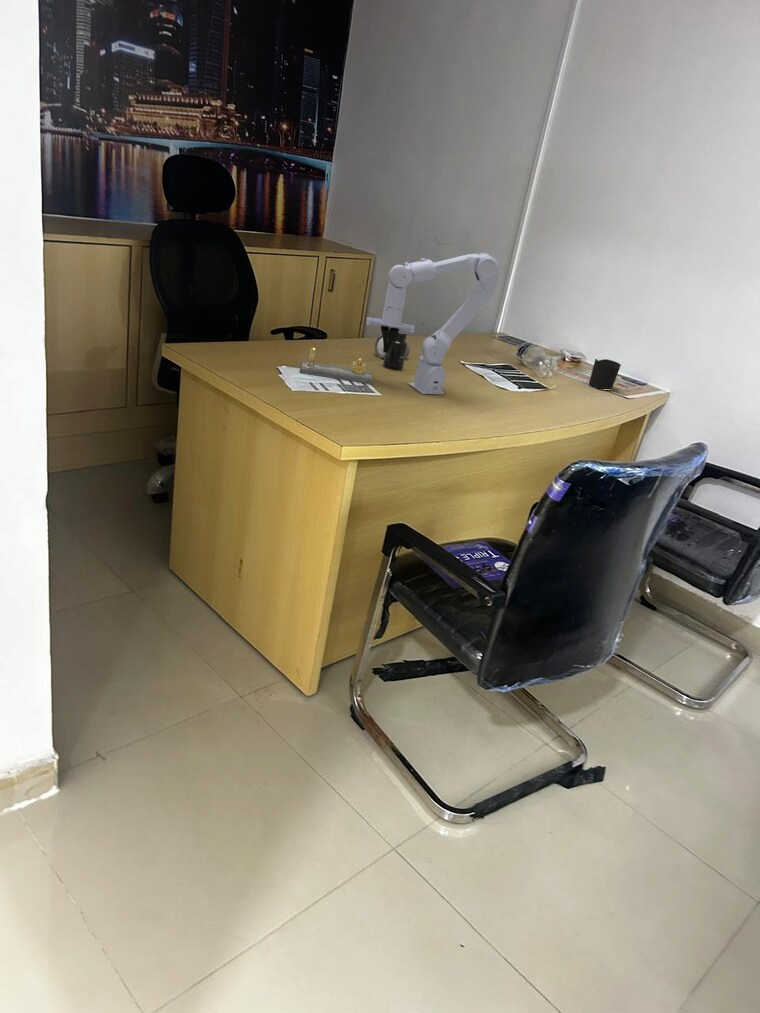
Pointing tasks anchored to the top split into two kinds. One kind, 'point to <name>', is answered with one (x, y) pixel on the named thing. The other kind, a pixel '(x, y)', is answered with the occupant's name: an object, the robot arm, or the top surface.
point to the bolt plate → (333, 370)
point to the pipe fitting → (379, 347)
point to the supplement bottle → (396, 352)
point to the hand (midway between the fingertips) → (385, 351)
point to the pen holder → (604, 374)
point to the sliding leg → (359, 366)
